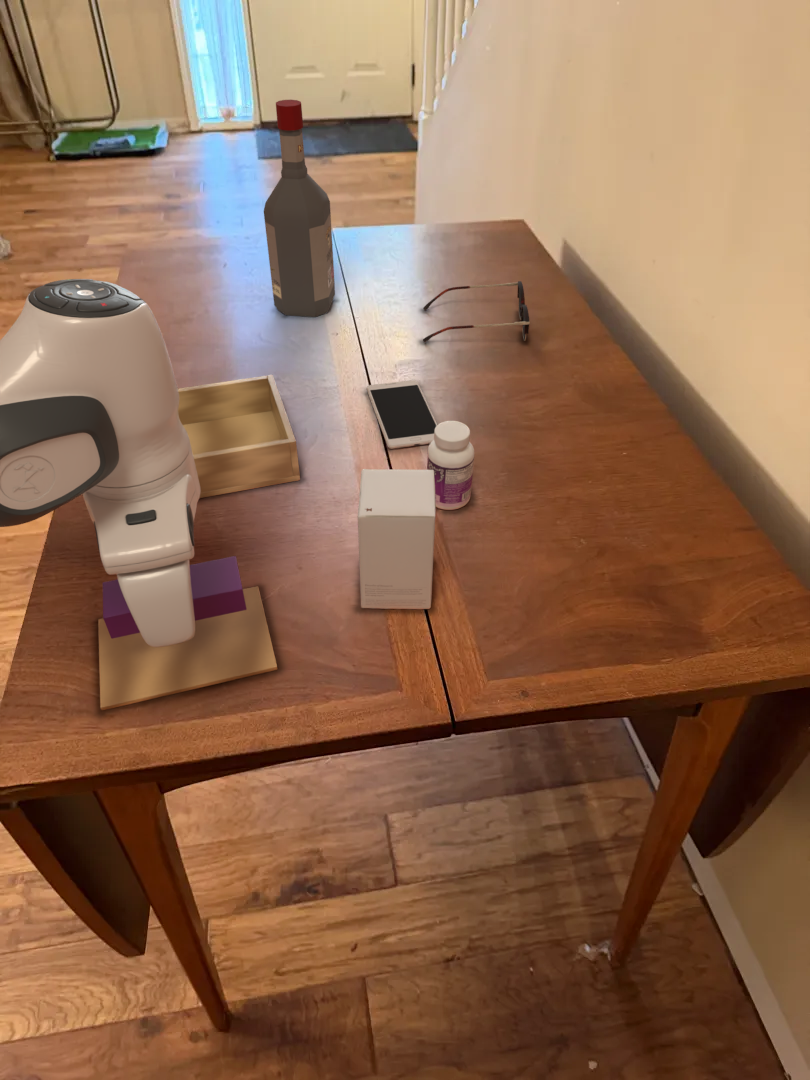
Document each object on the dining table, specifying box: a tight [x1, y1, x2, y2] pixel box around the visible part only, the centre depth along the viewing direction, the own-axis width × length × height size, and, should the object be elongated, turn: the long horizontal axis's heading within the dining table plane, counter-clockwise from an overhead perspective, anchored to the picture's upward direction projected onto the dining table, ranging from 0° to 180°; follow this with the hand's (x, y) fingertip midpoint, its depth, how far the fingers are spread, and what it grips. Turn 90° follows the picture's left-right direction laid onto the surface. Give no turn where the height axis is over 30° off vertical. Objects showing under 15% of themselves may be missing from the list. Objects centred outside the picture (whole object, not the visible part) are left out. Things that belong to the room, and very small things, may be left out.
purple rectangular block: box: [102, 555, 247, 639], centre depth 71 cm, size 12×4×3 cm, turn 107°
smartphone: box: [366, 379, 439, 450], centre depth 105 cm, size 8×1×15 cm
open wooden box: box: [178, 374, 301, 499], centre depth 96 cm, size 20×16×6 cm
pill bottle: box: [426, 420, 475, 511], centre depth 89 cm, size 5×5×10 cm
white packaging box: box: [357, 468, 437, 610], centre depth 77 cm, size 7×7×13 cm
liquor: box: [263, 99, 336, 318], centre depth 119 cm, size 9×9×30 cm
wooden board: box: [97, 585, 279, 711], centre depth 75 cm, size 16×11×1 cm
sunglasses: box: [422, 280, 531, 343], centre depth 122 cm, size 14×16×5 cm
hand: (175, 600), depth 71 cm, fingers closed on purple rectangular block, 4 cm apart
